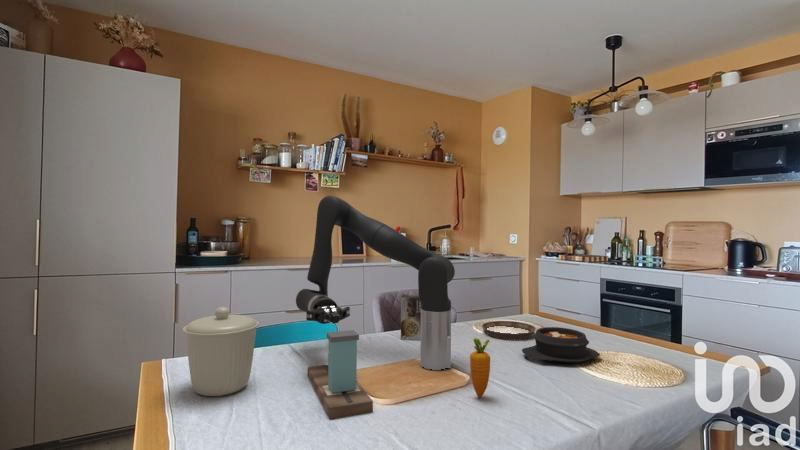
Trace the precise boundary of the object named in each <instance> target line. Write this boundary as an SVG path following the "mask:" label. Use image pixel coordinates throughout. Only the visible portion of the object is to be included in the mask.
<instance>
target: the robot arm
mask: <svg viewBox="0 0 800 450" xmlns="http://www.w3.org/2000/svg"><path fill="white" fill-rule="evenodd" d="M315 223H316V224H315V233H314V235H315V236H314V245H313V251H312V255H311V260H310V263H309V264H310V265H309V268H308V272H307V275H306V276H307V277H306V279H307V280H308V282H310V283H312V284H315V285H317V286H318V289H319V290H314V289H309V288H303V289H302V288H301V290H299V291H298V293H297V294H296V297H295V305H296V307H297V309H298V310H300V311H302V312H305V313H306V319H305V320H306V321H311V322H317V323H319V324H323V325H326V324H329V323H332V324H338V323H339V322H340V321H343V320H346V318H349V317H350V316H351V308H350V306H344V307H342V308H341V307H340V306H338V305H337V302H336V301H335V300H334V299H332V298H330V297H329V293H328V290H329V289H328V284H329V277H330V272H331V268H332V265H333V264H332V263H333V246H332V242H333V241H332V239H333V238H332V237H333V231H334V228H335V226H337V227H340V228H342V229H345V230H347V231H349V232H351V233H353V234H354V235H355V236H357V237H358V238H359V240H361V242H363V243H364V244H365V245H366V246H367V247H369V248H370V249H371V250H373V251H375V252H376V253H378V254H380V255H381V256H384V257H385V258H387V259H391V260H393V261H396V262H399V263H403V264H406V265H408V266H410V267H411V268H413V269H415V270H417V271H418V272H417V274H418V276H417V285H418V295H419V300H420V303H421V340H420V349H419V351H420V356H419V360H420V362H419V363H420V367H422V368H423V367H424V369H426V370H430V369H432V370H431V371H442V370H441V369H444V370H446V369H445V368H451V369H452V367H451V364H452V363H451V362H452V360H451V359H452V301H451V299H450V298H449V294H448V293H449V292H448V290H449V288H448V283H450V282H451V281H452V280H454V277H455V275H456V274H455V273H456V271H455V267H454V263H452V261H451V260H450V259H449V258H447V257H446V256H444V255H442V254H441V255H440V254H438V253H436V252H435V251H434V252H433V251H432V250H430V249H427V248H425V247H423V246H421V245H419V244H418V243H417V242H415V241H414V240H412V239H411V238H409V237H407V236H406V235H404V234H402V233H401V232H399V231H397V230H396V229H394V228H393V227H391V226H389V225H387V224H385V223H383V222H382V221H379V220H377V219H374V218H372V217H369V216H367V215H365V214H364V213H362V212H360V211H359V210H357V209H356V208H355V207H354V206H352V205H351V204H350V203H348V202H347V201H346V200H344V199H342V198H339V197H337V196H334V195H326V196H324V197H322V199H321V200H320V201H319V203H318V206H317V210H316V222H315Z"/></svg>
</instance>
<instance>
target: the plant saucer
mask: <svg viewBox="0 0 800 450" xmlns="http://www.w3.org/2000/svg"><path fill="white" fill-rule="evenodd" d="M494 326H506V327H514V328H521V329H525V330H528V331H529V332H528V333H518V334H511V333H500V332H494V331H490V330H487V328H489V327H494ZM481 328H482V330H483V331H484V332H485V334H487V335H488V334H489V335H488V336H491V337H493V338H496V339H502V340H517V341H518V340H525V339H528V338H529V336H530V337H531V336H532V335H534V333H535V332H536V331H537V329H536V327H535V326H534V325H532V324H529V323H526V322H519V321H512V320H496V321H488V322H485V323H482V325H481ZM527 337H528V338H527ZM524 338H525V339H524Z"/></svg>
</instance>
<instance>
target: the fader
mask: <svg viewBox="0 0 800 450" xmlns="http://www.w3.org/2000/svg"><path fill="white" fill-rule="evenodd" d="M326 338H327V340H328V347H327V348H328V349H327V350H328V353H327V354H328V356H327V358H328V364H327V365H328V388H329V389H330V391H331V393H336V392H343V391H349V390H356V381H357V382H358V380H357V375H358V373H357V371H358V369H357V366H358V363H357V362H358V361H357V360H358V359H357V357H358V356H357V354H358V352H357V351H358V348H357V347H358V344H357V343H358V341H359V340H360V334H358V332H356V330H354V329H350V330H340V331H339V330H338V331H330V332H329V331H328V332H326Z"/></svg>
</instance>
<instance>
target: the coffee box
mask: <svg viewBox="0 0 800 450" xmlns="http://www.w3.org/2000/svg"><path fill="white" fill-rule="evenodd" d="M400 340H403V341H404V340H406V341H407V340H408V341H409V340H410V341H411V340H412V341H421V303H420V300H419V294H405V293H404V294H402V295H401V296H400Z"/></svg>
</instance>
